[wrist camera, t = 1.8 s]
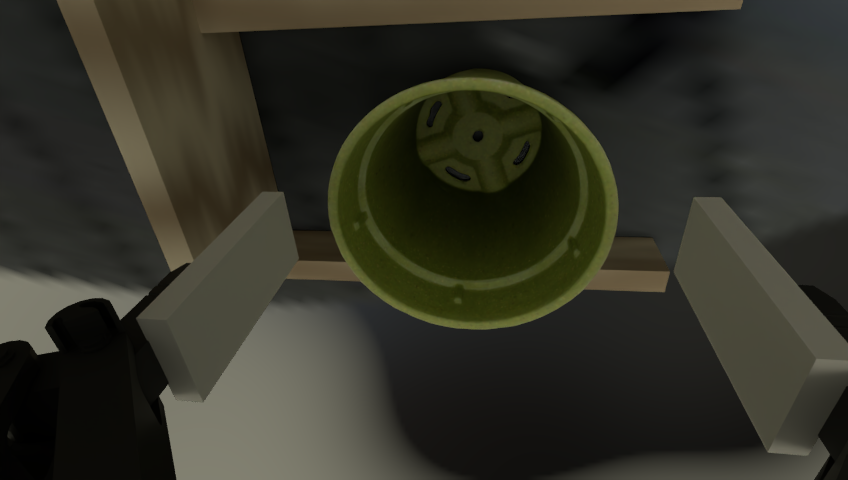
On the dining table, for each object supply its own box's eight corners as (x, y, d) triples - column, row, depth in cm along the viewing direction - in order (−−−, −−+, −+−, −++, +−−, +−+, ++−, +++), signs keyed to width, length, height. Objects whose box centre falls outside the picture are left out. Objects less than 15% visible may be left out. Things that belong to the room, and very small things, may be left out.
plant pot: (521, 243, 26) (530, 363, 18) (359, 179, 25) (300, 276, 18) (620, 80, 20) (686, 156, 13) (419, -7, 20) (373, 21, 12)
